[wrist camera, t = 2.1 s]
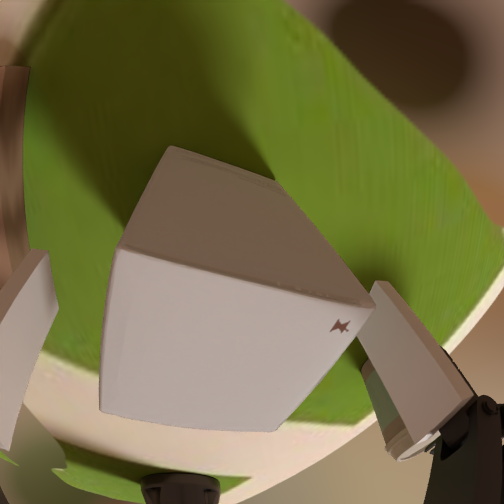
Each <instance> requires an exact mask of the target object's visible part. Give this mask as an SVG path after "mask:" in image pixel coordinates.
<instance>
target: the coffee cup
mask: <svg viewBox="0 0 504 504" xmlns="http://www.w3.org/2000/svg"><path fill="white" fill-rule="evenodd" d="M361 374H362V377H363V379H364V382H365V385H366V388H367V391H368V393H369V396H370V399H371V402H372V405H373V408H374V411H375V413H376V416H377V419H378V422H379V425H380V428H381V431H382V434H383V437H384V440H385V443H386V446H385V450H386V451H387V452H388V454H389V455H391V456H392V457H393V458H394V459H395V460H396V461H397V462H401V461H405V460H408V459H410V458H413V457H415V456H417V455H419V454H421V453H422V452H424V451H425V448H426V447H427V446H428V445H429V444H430V443H431V442H433V441H434V440H435V439H436V438H437V437H438V436H440V435H441V434H440V432H439V430H438V431H437V432H436V433H435V434H434V435H433V436H432V437H431V438H429V439H428V440H426V441H423V442H421V443H418V444H416V445H415V444H414V442H413V440H412V438H411V436H410V434H409V432H408V430H407V428H406V426H405V424H404V422H403V420H402V418H401V416H400V414H399V412H398V410H397V408H396V407H395V405H394V403H393V401H392V399H391V397H390V395H389V393H388V391H387V390H386V388H385V386H384V384H383V382H382V380H381V379H380V377H379V375H378V373H377V371H376V369H375V368H374V366H373V364H372V362H371V360H370V359H368V360H367V361H366V362H365V363H364V365H363V367H362V370H361Z"/></svg>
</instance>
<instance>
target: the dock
mask: <svg viewBox="0 0 504 504" xmlns="http://www.w3.org/2000/svg"><path fill="white" fill-rule="evenodd" d="M29 72H30V67H24V66H1V67H0V290H1V289H2V287H3V286H4V285H5V283H6V282H7V280H8V279H9V278H10V276H11V275H12V274H13V272H14V271H15V270H16V268H17V267H18V266H19V264H20V263H21V262H22V260H23V259H24V258H25V257H26V255H27V254H28V253H29V252H30V248H29V242H28V234H27V226H26V216H25V205H24V190H23V128H24V113H25V102H26V93H27V85H28V78H29Z"/></svg>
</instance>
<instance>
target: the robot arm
mask: <svg viewBox="0 0 504 504" xmlns="http://www.w3.org/2000/svg"><path fill="white" fill-rule="evenodd" d="M369 295H370V296H371V297H372V299H373V300H374V302H375V303H376V310H375V311H374V313H373V314H372V315H371V317H370V318H369V319H368V320H367V322H366V323H365V324H364V326H363V327H362V329H361V330H360V331H359V333H358V334H357V335H356V336H357V337H358V339H359V341H360V343H361V344H362V346H363V348H364V350H365V352H366V353H367V355H368V357H369V359H370V360H371V362H372V364H373V366H374V368H375V369H376V371H377V373H378V375H379V377H380V379H381V380H382V382H383V384H384V386H385V388H386V390H387V391H388V393H389V395H390V397H391V399H392V401H393V403H394V405H395V407H396V408H397V410H398V412H399V414H400V416H401V418H402V420H403V422H404V424H405V426H406V428H407V430H408V432H409V434H410V436H411V438H412V440H413V442H414V444H415V445H416V444H418V443H421V442H423V441H426V440H428V439H429V438H431V437H432V436H433V435H434V434H435V433H436V432H437V431H438V430H439V432H440V434H441V435H440V436H438V437H437V438H436V439H435V440H434V441H433V442H431V443H430V444H429V445H428V446H427V447H426V448H425V451H424V452H427V451H428V450H430V449H431V448H432V447H433V446H435V448H434V449H432V450H431V452H430V454H433V455H434V456H433V462H432V468H431V473H430V478H429V483H428V487H427V491H426V496H425V500H424V504H504V445H503V446H502V439H503V438H504V404H497V403H496V402H495V401H494V400H493V399H492V398H491V397H489V396H486V395H481V396H480V397H478V395H477V394H476V393H475V391H474V390H473V388H472V387H471V385H470V384H469V382H468V381H467V380H466V378H465V377H464V375H463V374H462V372H461V371H460V370H459V369H458V367H457V365H456V364H455V363H454V362H453V360H452V358H451V357H450V356H449V354H448V353H447V352H446V350H444V349H443V348H442V347H441V346H440V345H439V344H438V343H437V342H436V340H435V339H434V338H433V336H432V335H431V334H430V332H429V331H428V330H427V329H426V327H425V326H424V325H423V323H422V322H421V321H420V320H419V318H418V317H417V316H416V314H415V313H414V312H413V311H412V309H411V308H410V307H409V306H408V305H407V303H406V302H405V301H404V300H403V298H402V297H401V296H400V295H399V294H398V292H397V291H396V290H395V289H394V288H393V286H392V285H391V284H390V283H389V282H388V281H376V280H375V282H374V284H373V286H372V289H371V291H370V293H369ZM58 310H59V307H58V303H57V298H56V293H55V288H54V283H53V277H52V271H51V265H50V259H49V252H48V250H39V249H31V250H30V252H29V253H28V254H27V255H26V257H25V258H24V259H23V260H22V262H21V263H20V264H19V266H18V267H17V268H16V270H15V271H14V272H13V274H12V275H11V276H10V278H9V279H8V280H7V282H6V283H5V285H4V286H3V287H2V289H1V290H0V448H2V449H5V450H7V451H9V450H10V445H11V441H12V437H13V433H14V429H15V425H16V422H17V418H18V415H19V411H20V408H21V405H22V401H23V398H24V395H25V392H26V389H27V386H28V383H29V380H30V377H31V375H32V372H33V369H34V366H35V364H36V361H37V359H38V356H39V353H40V351H41V348H42V346H43V344H44V341H45V339H46V336H47V334H48V332H49V329H50V327H51V325H52V323H53V320H54V318H55V316H56V314H57V312H58ZM141 492H142V494H143V497H144V499H145V502H146V504H218V503H219V499H220V494H221V489H220V483H219V481H218V480H216V479H214V478H211V477H207V476H202V475H194V474H177V473H170V474H155V475H150V476H146V477H144V478H142V479H141ZM0 504H9V503H8V501H7V499H6V497H5V495H4V493H3V491H2V489H1V487H0Z"/></svg>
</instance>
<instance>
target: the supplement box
mask: <svg viewBox="0 0 504 504" xmlns="http://www.w3.org/2000/svg"><path fill="white" fill-rule="evenodd" d="M375 310H376V303H375V302H374V300H373V299H372V297H371V296H370V295H369V294H368V292H367V291H366V290H365V288H364V287H363V286H362V284H361V283H360V282H359V281H358V279H357V278H356V277H355V275H354V274H353V273H352V272H351V270H350V269H349V268H348V266H347V265H346V264H345V263H344V261H343V260H342V259H341V257H340V256H339V255H338V254H337V252H336V251H335V250H334V249H333V247H332V246H331V245H330V244H329V242H328V241H327V240H326V239H325V238H324V236H323V235H322V234H321V233H320V231H319V230H318V229H317V228H316V227H315V225H314V224H313V223H312V222H311V220H310V219H309V218H308V217H307V216H306V214H305V213H304V212H303V211H302V210H301V209H300V207H299V206H298V205H297V204H296V203H295V201H294V200H293V199H292V198H291V197H290V196H289V194H288V193H287V192H286V191H285V190H284V189H283V187H282V186H281V185H280V184H279V183H278V182H277V181H274V180H272V179H269V178H266V177H264V176H261V175H258V174H256V173H253V172H250V171H247V170H244V169H242V168H239V167H236V166H233V165H230V164H227V163H225V162H222V161H219V160H216V159H213V158H210V157H207V156H204V155H201V154H198V153H195V152H192V151H189V150H185V149H182V148H179V147H175V146H169V147H168V148H167V149H166V151H165V153H164V154H163V156H162V158H161V160H160V162H159V163H158V165H157V167H156V169H155V171H154V172H153V174H152V176H151V178H150V180H149V182H148V184H147V186H146V188H145V190H144V192H143V194H142V196H141V198H140V200H139V202H138V203H137V205H136V207H135V209H134V211H133V213H132V215H131V218H130V220H129V222H128V224H127V226H126V228H125V230H124V232H123V235H122V237H121V239H120V241H119V242H118V244H117V246H116V248H115V252H114V256H113V260H112V265H111V270H110V275H109V280H108V287H107V293H106V300H105V308H104V316H103V325H102V335H101V349H100V370H99V409H100V411H101V412H104V413H107V414H111V415H115V416H120V417H124V418H129V419H134V420H139V421H144V422H150V423H156V424H163V425H169V426H176V427H184V428H193V429H205V430H219V431H240V432H273V431H275V430H276V429H278V428H279V427H280V426H281V425H282V424H283V423H284V422H285V420H286V419H287V418H288V417H289V416H290V415H291V414H292V413H293V412H294V410H295V409H296V408H297V407H298V406H299V405H300V404H301V403H302V402H303V401H304V399H305V398H306V397H307V396H308V395H309V394H310V393H311V391H312V390H313V389H314V388H315V387H316V386H317V385H318V384H319V383H320V382H321V380H322V379H323V378H324V377H325V375H326V374H327V372H328V371H329V370H330V369H331V367H332V366H333V365H334V364H335V363H336V361H337V360H338V359H339V357H340V356H341V355H342V354H343V352H344V351H345V350H346V348H347V347H348V346H349V345H350V343H351V342H352V341H353V339H354V338H355V337H356V335H357V334H358V333H359V331H360V330H361V329H362V327H363V326H364V324H365V323H366V322H367V320H368V319H369V318H370V317H371V315H372V314H373V313H374V311H375Z"/></svg>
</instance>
